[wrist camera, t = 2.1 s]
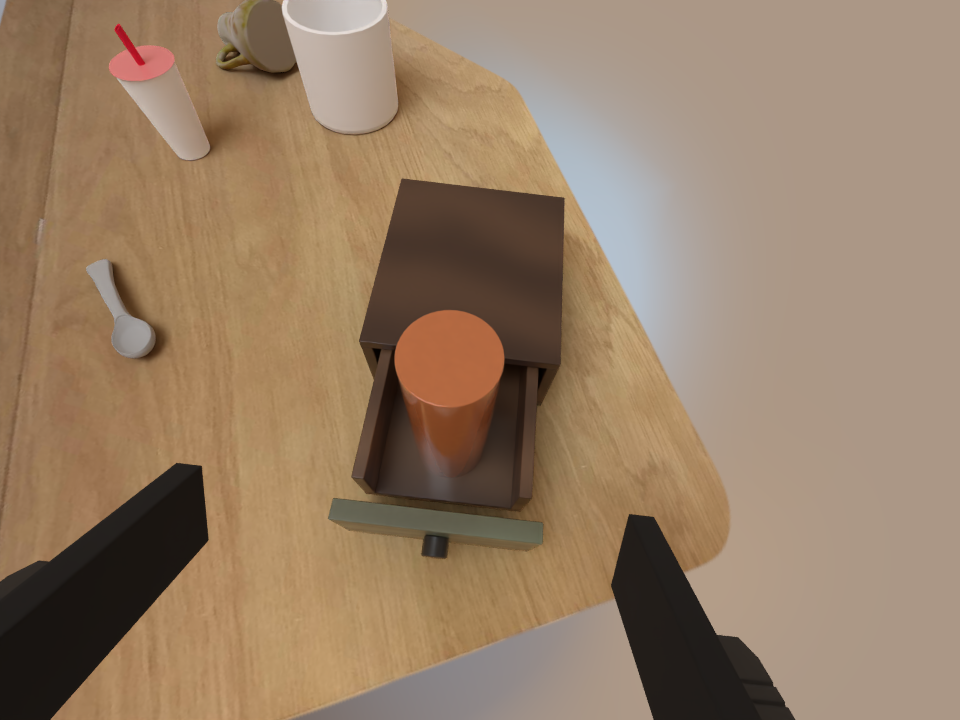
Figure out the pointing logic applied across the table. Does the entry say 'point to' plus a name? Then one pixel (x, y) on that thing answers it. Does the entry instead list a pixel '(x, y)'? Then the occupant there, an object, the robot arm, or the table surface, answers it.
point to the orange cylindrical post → (449, 387)
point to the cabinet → (473, 270)
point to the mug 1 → (256, 37)
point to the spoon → (121, 315)
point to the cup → (161, 95)
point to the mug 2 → (344, 61)
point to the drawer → (399, 473)
